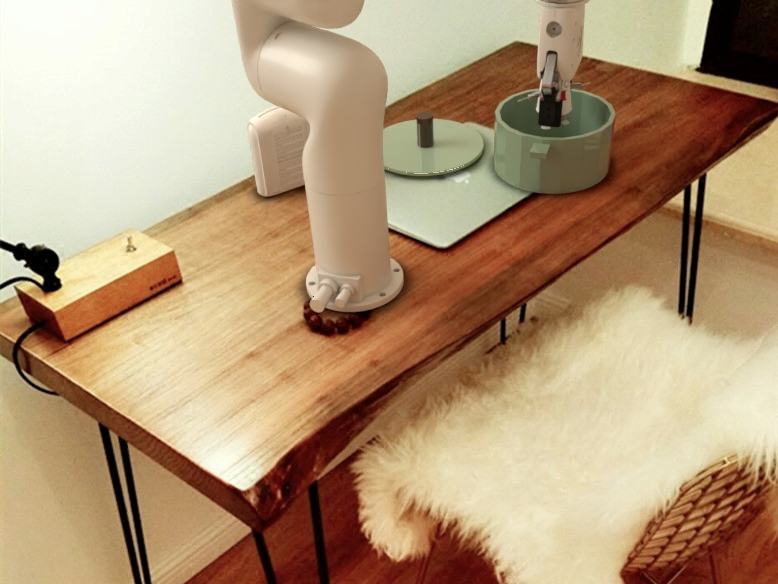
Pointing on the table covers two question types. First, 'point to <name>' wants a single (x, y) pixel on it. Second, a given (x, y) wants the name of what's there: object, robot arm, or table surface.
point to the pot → (553, 144)
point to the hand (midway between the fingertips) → (554, 114)
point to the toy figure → (564, 95)
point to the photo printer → (277, 150)
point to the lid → (430, 146)
